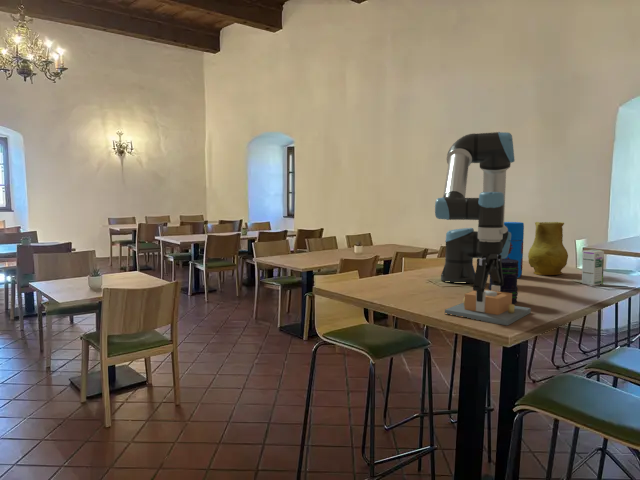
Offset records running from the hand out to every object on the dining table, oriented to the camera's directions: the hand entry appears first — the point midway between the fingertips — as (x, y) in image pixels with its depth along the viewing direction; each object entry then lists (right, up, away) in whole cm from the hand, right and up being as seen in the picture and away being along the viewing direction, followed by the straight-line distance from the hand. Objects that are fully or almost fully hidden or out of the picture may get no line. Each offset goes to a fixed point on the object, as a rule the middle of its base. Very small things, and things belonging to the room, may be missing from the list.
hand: (488, 308), depth 153 cm
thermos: (+35, +5, +70) cm, 78 cm away
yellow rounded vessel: (+55, +6, +74) cm, 92 cm away
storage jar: (+11, 0, +17) cm, 20 cm away
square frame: (0, 0, 0) cm, 0 cm away
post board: (0, -2, 0) cm, 2 cm away
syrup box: (+61, +3, +48) cm, 78 cm away
